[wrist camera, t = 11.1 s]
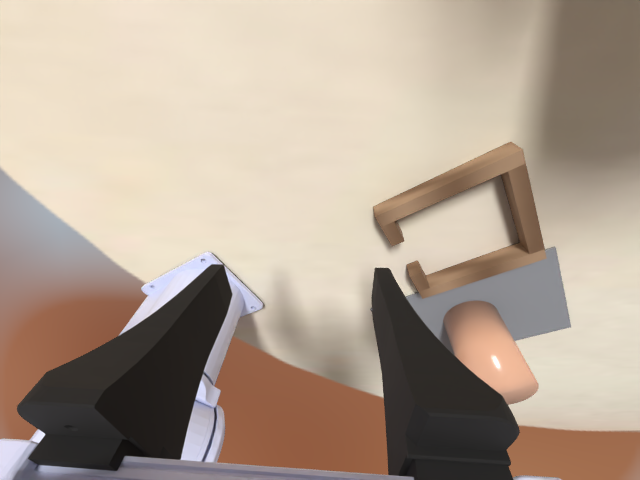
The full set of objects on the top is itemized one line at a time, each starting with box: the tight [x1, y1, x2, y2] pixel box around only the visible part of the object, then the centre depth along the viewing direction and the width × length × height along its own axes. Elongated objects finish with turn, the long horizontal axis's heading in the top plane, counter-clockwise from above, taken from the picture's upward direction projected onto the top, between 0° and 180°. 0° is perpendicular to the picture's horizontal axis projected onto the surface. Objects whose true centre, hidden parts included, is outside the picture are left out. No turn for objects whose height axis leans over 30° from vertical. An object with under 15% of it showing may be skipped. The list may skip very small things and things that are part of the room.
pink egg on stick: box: [443, 301, 538, 405], centre depth 26 cm, size 9×5×7 cm, turn 2°
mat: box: [371, 247, 571, 355], centre depth 28 cm, size 16×11×1 cm
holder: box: [373, 142, 547, 299], centre depth 22 cm, size 10×10×2 cm
